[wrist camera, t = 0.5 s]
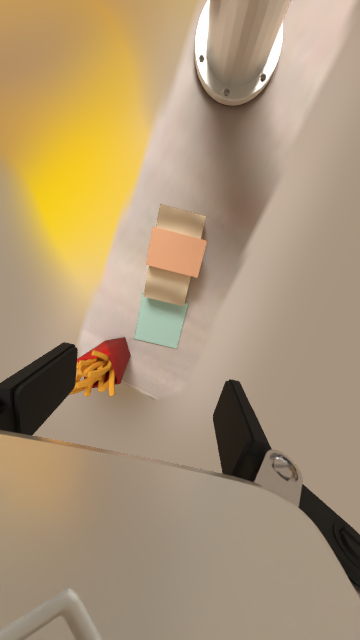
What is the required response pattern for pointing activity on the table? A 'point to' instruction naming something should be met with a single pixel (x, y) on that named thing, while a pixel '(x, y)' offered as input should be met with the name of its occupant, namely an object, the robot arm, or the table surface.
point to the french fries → (102, 367)
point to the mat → (160, 322)
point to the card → (176, 252)
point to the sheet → (164, 281)
